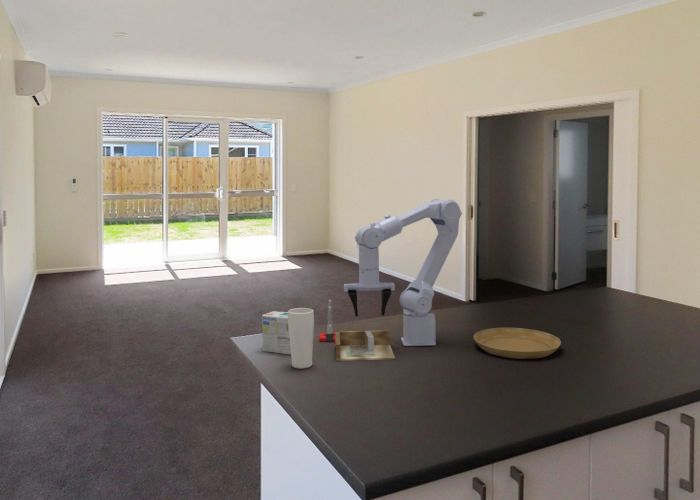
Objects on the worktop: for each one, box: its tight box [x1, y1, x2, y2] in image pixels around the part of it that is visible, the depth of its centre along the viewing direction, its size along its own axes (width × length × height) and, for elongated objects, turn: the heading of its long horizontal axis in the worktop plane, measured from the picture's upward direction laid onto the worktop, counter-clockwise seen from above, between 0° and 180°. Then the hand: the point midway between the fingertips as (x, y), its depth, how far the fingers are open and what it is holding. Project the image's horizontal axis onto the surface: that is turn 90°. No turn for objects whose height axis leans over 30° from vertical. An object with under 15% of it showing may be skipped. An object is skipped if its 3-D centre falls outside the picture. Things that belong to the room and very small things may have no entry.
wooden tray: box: [334, 329, 391, 360], centre depth 163 cm, size 16×14×4 cm
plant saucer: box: [473, 327, 562, 360], centre depth 165 cm, size 24×24×3 cm
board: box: [335, 344, 396, 362], centre depth 163 cm, size 16×14×1 cm
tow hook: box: [318, 299, 336, 343], centre depth 178 cm, size 8×13×9 cm
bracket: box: [350, 330, 374, 356], centre depth 161 cm, size 7×6×5 cm
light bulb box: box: [261, 310, 291, 356], centre depth 166 cm, size 11×7×11 cm, turn 65°
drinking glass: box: [287, 307, 315, 370], centre depth 151 cm, size 7×7×15 cm
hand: (369, 315), depth 166 cm, fingers open, 7 cm apart
